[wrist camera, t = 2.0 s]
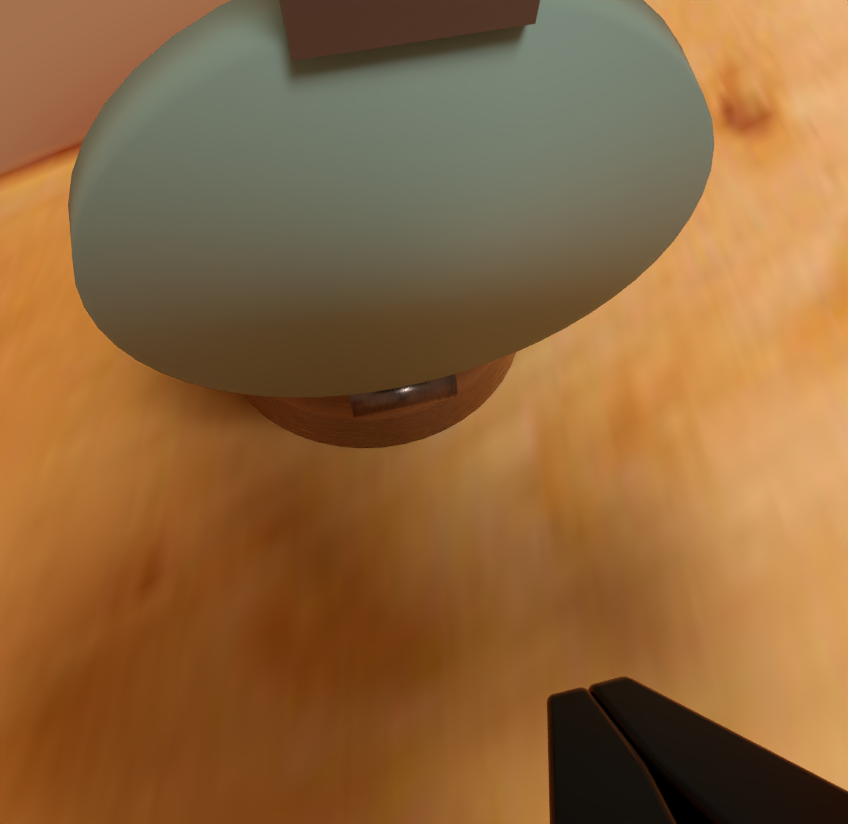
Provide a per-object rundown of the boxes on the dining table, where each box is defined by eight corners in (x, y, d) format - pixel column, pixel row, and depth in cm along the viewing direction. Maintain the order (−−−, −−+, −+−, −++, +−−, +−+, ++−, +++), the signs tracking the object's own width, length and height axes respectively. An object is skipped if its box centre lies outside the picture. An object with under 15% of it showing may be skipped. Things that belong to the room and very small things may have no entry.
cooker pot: (625, 420, 25) (666, 332, 20) (178, 517, 23) (120, 444, 19) (521, 180, 31) (536, 72, 26) (158, 244, 29) (111, 140, 25)
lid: (600, 312, 20) (613, 350, 20) (181, 395, 19) (186, 438, 19) (1074, -567, 6) (1155, -495, 6) (-473, -467, 5) (-508, -363, 4)
